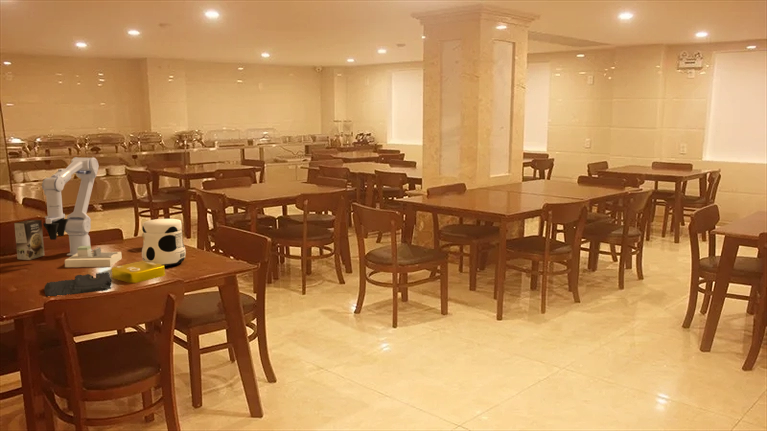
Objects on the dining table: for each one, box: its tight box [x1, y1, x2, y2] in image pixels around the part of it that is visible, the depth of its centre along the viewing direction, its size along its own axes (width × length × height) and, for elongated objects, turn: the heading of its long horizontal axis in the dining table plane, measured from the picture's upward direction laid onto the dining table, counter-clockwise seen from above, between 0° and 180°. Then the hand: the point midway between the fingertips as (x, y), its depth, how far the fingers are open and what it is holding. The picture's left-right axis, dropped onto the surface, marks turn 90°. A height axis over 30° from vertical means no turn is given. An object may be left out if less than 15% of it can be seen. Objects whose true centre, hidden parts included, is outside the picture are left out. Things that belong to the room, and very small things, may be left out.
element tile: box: [111, 260, 166, 284], centre depth 241 cm, size 15×15×5 cm
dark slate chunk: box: [43, 271, 113, 297], centre depth 225 cm, size 15×22×5 cm
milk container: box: [141, 218, 187, 267], centre depth 259 cm, size 17×17×18 cm
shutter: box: [92, 247, 115, 257], centre depth 262 cm, size 6×6×3 cm
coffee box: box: [13, 219, 45, 261], centre depth 270 cm, size 9×6×16 cm
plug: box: [77, 245, 92, 257], centre depth 261 cm, size 4×4×7 cm
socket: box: [64, 251, 123, 268], centre depth 262 cm, size 14×18×4 cm
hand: (57, 237), depth 262 cm, fingers open, 7 cm apart
